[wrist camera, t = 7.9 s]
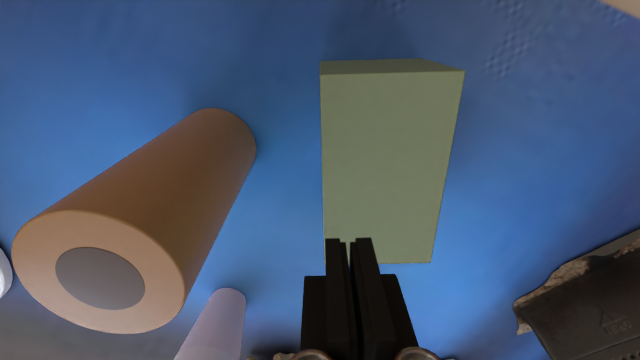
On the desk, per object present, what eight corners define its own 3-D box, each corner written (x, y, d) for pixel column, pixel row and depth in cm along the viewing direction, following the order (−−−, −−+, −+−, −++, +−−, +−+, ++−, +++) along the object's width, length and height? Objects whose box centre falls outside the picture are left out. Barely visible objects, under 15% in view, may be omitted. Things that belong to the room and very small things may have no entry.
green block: (323, 208, 26) (324, 265, 20) (319, 60, 21) (319, 74, 14) (403, 206, 26) (430, 263, 20) (421, 58, 20) (466, 70, 14)
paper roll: (222, 166, 27) (4, 261, 16) (209, 100, 24) (-63, 161, 14) (343, 206, 20) (109, 412, 10) (344, 121, 18) (20, 273, 7)
